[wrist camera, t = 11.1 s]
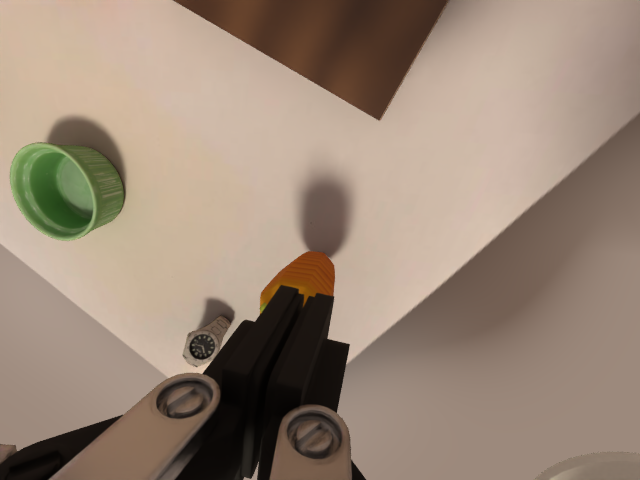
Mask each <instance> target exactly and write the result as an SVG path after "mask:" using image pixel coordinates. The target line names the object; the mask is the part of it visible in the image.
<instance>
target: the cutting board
mask: <svg viewBox="0 0 640 480" xmlns="http://www.w3.org/2000/svg"><path fill="white" fill-rule="evenodd" d="M174 1H175V2H177V3H179V4H180V5H182V6H184V7H186V8H187V9H189V10H191V11H192V12H194V13H196V14H198V15H199V16H201V17H203V18H204V19H206V20H208V21H209V22H211V23H213V24H215V25H216V26H218V27H220V28H221V29H223V30H225V31H227V32H228V33H230V34H232V35H233V36H235V37H237V38H239V39H240V40H242V41H244V42H245V43H247V44H249V45H251V46H252V47H254V48H256V49H257V50H259V51H261V52H263V53H264V54H266V55H268V56H269V57H271V58H273V59H275V60H276V61H278V62H280V63H281V64H283V65H285V66H287V67H288V68H290V69H292V70H293V71H295V72H297V73H299V74H300V75H302V76H304V77H305V78H307V79H309V80H311V81H312V82H314V83H316V84H317V85H319V86H321V87H323V88H324V89H326V90H328V91H329V92H331V93H333V94H334V95H336V96H338V97H340V98H341V99H343V100H345V101H346V102H348V103H350V104H352V105H353V106H355V107H357V108H358V109H360V110H362V111H364V112H365V113H367V114H369V115H370V116H372V117H374V118H376V119H377V120H379V121H380V120H381V119H382V117H383V115H384V113H385V112H386V110H387V108H388V106H389V105H390V103H391V101H392V99H393V98H394V96H395V94H396V92H397V91H398V89H399V87H400V85H401V84H402V82H403V80H404V78H405V77H406V75H407V73H408V71H409V70H410V68H411V66H412V64H413V63H414V61H415V59H416V58H417V56H418V54H419V52H420V51H421V49H422V47H423V45H424V44H425V42H426V40H427V38H428V37H429V35H430V33H431V31H432V30H433V28H434V26H435V24H436V23H437V21H438V19H439V17H440V16H441V14H442V12H443V10H444V9H445V7H446V5H447V3H448V2H449V0H174Z"/></svg>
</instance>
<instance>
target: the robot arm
mask: <svg viewBox="0 0 640 480" xmlns="http://www.w3.org/2000/svg"><path fill="white" fill-rule="evenodd" d="M333 302H334V296H330V295H325V294H321V293H316V295H315V297H313V296H309V297H308V299H307V301H306V303H305V305H304V307H303V303H304V294H299V289H298V288H293V287H289V286H284V285H281V286H280V287H279V288H278V290H277V291H276V293H275V294H274V295H273V297H272V298H271V300H270V301H269V303H268V304H267V305H266V307H265V308H264V310H263V311H262V313H261V314H260V316H259V317H258V318H257V320H256V321H255V322H253V321H249V320H244V321H243V322H242V323H241V324H240V325H239V327H238V328H237V329H236V331H235V332H234V333H233V334H232V336H231V337H230V338H229V340H228V341H227V342H226V344H225V345H224V346H223V348H222V349H221V350H220V351H219V353H218V354H217V355H216V357H215V358H214V359H213V361H212V362H211V363H210V365H209V366H208V367H207V369H206V370H205V371H204V372H203V374H199V373H184V374H179V375H175V376H173V377H171V378H168V379H166V380H165V381H163V382H162V383H160V384H159V385H158V386H156V387H155V388H154V389H153V390H152V391H151V392H150V393H148V394H147V395H146V396H145V397H144V398H142V399H141V400H140V401H139V402H138V403H137V404H136V405H134V406H133V407H132V408H131V409H130V410H129V411H127V412H126V413H125V414H124V415H121V416H118V417H115V418H112V419H108V420H105V421H102V422H99V423H96V424H93V425H90V426H87V427H84V428H80V429H77V430H74V431H71V432H68V433H65V434H62V435H59V436H56V437H52V438H49V439H46V440H43V441H40V442H37V443H35V444H32V445H30V446H28V447H25V448H23V449H21V450H20V451H17V450H16V446H15V445H5V444H4V445H3V444H0V480H243V479H244V477H246V478H250V479H251V478H252V476H253V474H254V472H255V469H256V467H257V464H258V462H259V467H258V476H257V480H366V479H365V478H364V476H363V475H362V473H361V472H360V471H359V469H358V468H357V467H356V465H355V464H354V463H353V461H352V460H351V446H350V435H349V430H348V427H347V425H346V424H345V422H344V420H343V419H342V418H341V417H340V416H339V415H338V414H337V408H338V404H339V398H340V393H341V388H342V383H343V377H344V372H345V367H346V362H347V356H348V351H349V346H350V344H346V343H342V342H338V341H334V340H329V339H327V338H328V332H329V326H330V320H331V314H332V308H333Z"/></svg>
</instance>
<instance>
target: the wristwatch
mask: <svg viewBox="0 0 640 480" xmlns="http://www.w3.org/2000/svg"><path fill="white" fill-rule="evenodd" d="M230 325H231V323H230V322H229V321H228V319H226V318H224V317H223V316H221V315H220V316H219V317H218V318H217V319H216V320H214V321H213V322H212V323H210V324H209V325H208V326H205V327H203V328H201V329H199V330H196V331H192V332H191V333H189V334H188V337H187V339H186V344H185V348H184V352H183V357H184V359H185V360H186V362H187V363H189V364H190V365H192V366H195V367H198V366H201V365H203V364H205V363H207V362H209V361H211V360H213V359H214V358H215V357H216V355H217V354H218V352H219V350H220V346H221V343H222V340H223V336H224V335H225V333H226V332H227V330H228V328H229V327H230Z"/></svg>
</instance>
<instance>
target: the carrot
mask: <svg viewBox="0 0 640 480" xmlns="http://www.w3.org/2000/svg"><path fill="white" fill-rule="evenodd" d="M334 282H335V270H334V265H333V263H332V262H331V260H330V259H329V258H328V257H327V256H326V255H325V253H322V252H314V251H308V252H306V253H304V254H302V255H301V256H299V257H298V258H297V259H295V260H294V261H293V262H291V263H290V264H289V265H288V266H286V267H285V268H284V269H282V270H281V271H280V272H279V273H278V274H277V275H276V276H275V277H274V278H273V279H272V281H271V282H270V283H269V284H268V285H267V286H266V287H265V289H264V290H263V291H262V293H261V297H260V314H261V313H262V311H263V310H264V308H265V307H266V305H267V304H268V303H269V301H270V300H271V298H272V297H273V295H274V294H275V293H276V291H277V290H278V288H279V287H280V286H281V285H284V286H289V287H293V288H298V289H299V294H304V303H303V307H304V305H305V303H306V301H307V299H308V297H309V296H313V297H315V295H316V293H321V294H325V295H330V296H333V293H334Z"/></svg>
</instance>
